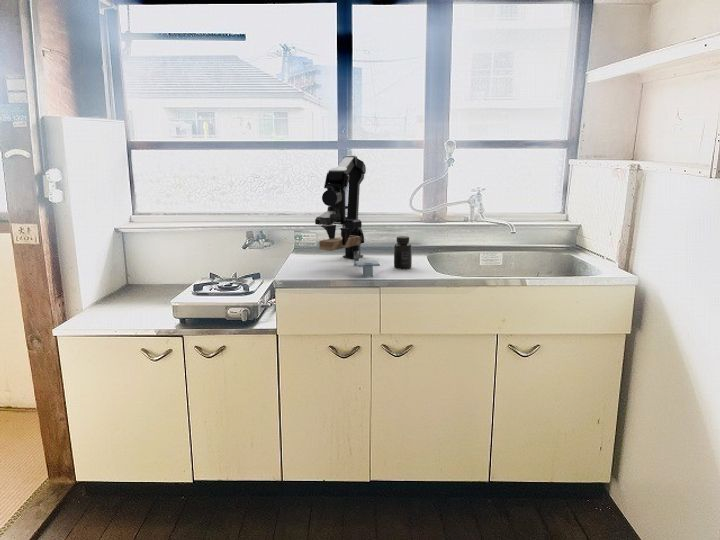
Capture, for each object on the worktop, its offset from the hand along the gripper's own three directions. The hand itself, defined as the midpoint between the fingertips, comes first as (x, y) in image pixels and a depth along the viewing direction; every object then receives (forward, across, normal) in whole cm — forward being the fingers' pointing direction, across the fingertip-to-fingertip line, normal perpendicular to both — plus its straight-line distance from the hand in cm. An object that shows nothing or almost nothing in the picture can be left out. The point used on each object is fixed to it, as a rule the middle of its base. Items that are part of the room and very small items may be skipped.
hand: (338, 244), depth 201 cm
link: (+1, 0, +2) cm, 2 cm away
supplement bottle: (+9, +20, +15) cm, 26 cm away
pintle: (+9, +3, +8) cm, 12 cm away
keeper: (+9, +16, -2) cm, 18 cm away
